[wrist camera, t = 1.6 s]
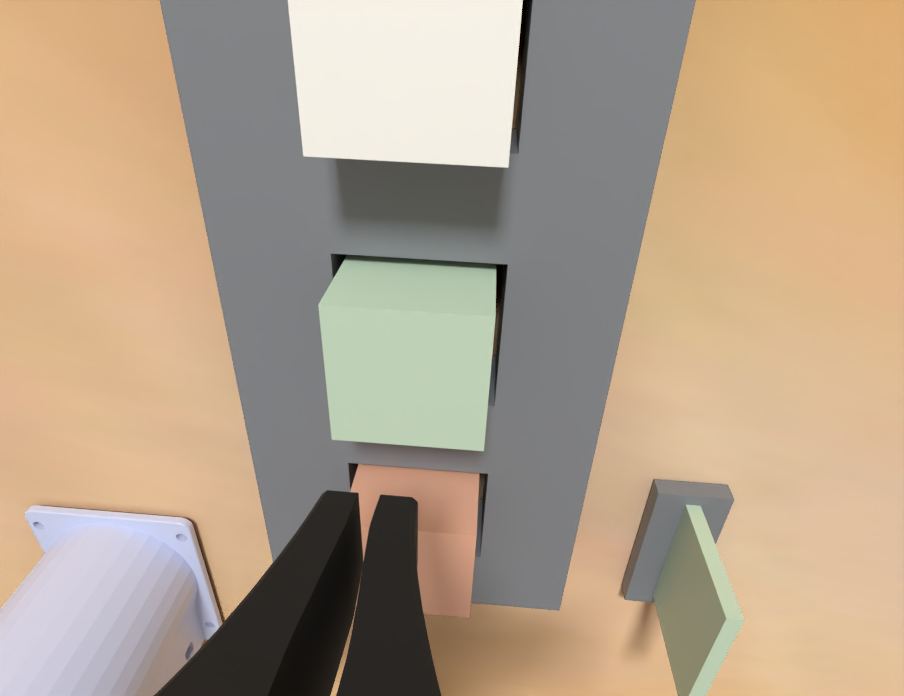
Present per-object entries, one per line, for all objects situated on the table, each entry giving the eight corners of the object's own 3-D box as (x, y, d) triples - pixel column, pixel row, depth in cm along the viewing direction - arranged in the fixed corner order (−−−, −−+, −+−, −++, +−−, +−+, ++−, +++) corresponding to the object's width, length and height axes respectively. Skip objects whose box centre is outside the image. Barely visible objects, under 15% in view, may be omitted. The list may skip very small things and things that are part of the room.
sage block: (487, 372, 20) (483, 451, 16) (360, 363, 20) (331, 439, 17) (496, 252, 17) (495, 316, 14) (353, 244, 18) (318, 304, 14)
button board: (553, 551, 27) (559, 610, 24) (298, 529, 27) (278, 585, 25) (704, -216, 13) (754, -266, 10) (179, -230, 13) (103, -281, 11)
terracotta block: (474, 529, 24) (469, 617, 21) (369, 520, 24) (348, 607, 21) (480, 450, 22) (476, 536, 18) (365, 441, 22) (340, 524, 19)
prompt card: (685, 590, 27) (724, 721, 23) (621, 584, 28) (647, 713, 23) (727, 484, 24) (786, 614, 19) (654, 479, 24) (693, 606, 19)
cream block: (507, 128, 16) (508, 167, 12) (345, 120, 16) (303, 156, 12) (523, -73, 13) (530, -94, 10) (333, -80, 13) (277, -103, 10)
